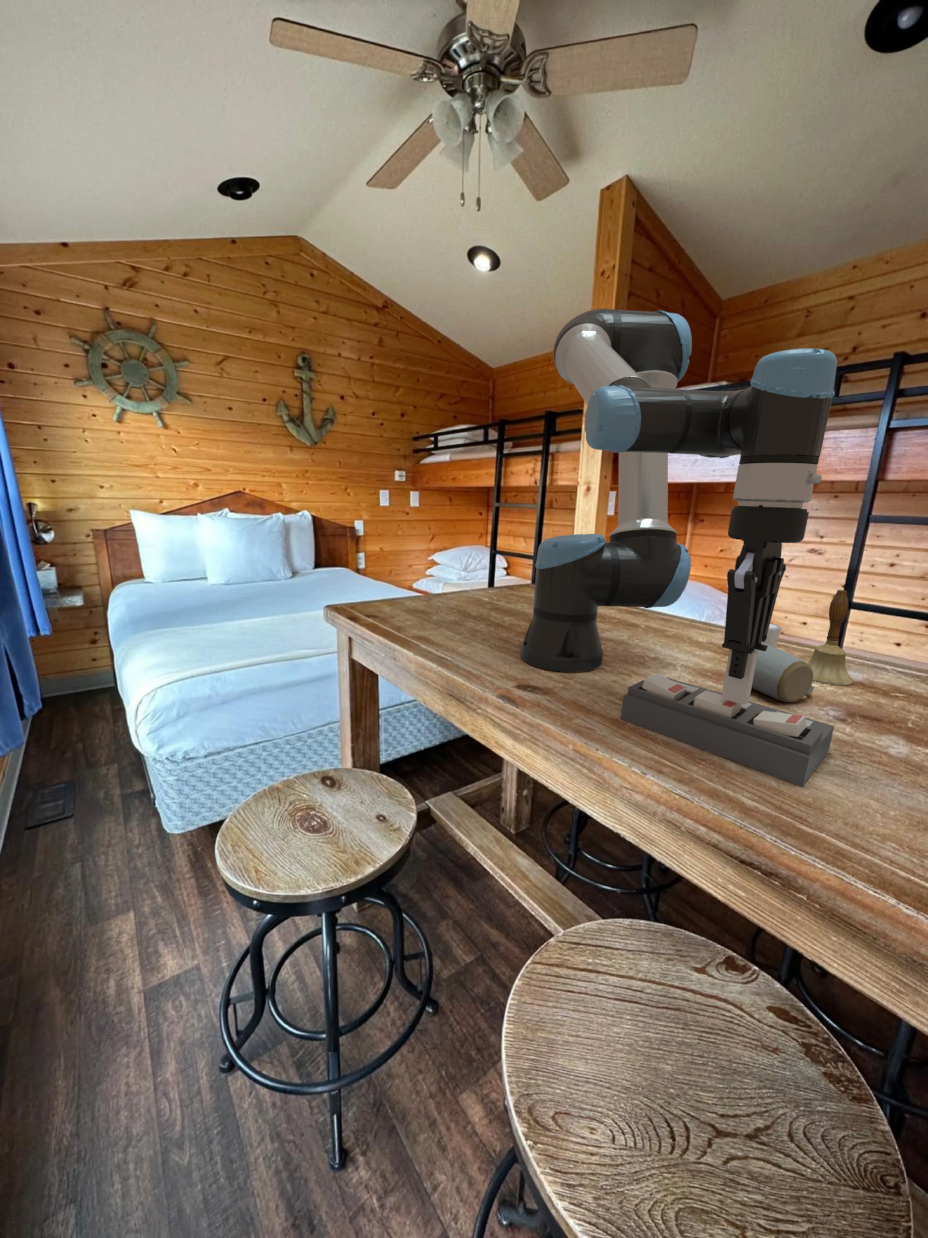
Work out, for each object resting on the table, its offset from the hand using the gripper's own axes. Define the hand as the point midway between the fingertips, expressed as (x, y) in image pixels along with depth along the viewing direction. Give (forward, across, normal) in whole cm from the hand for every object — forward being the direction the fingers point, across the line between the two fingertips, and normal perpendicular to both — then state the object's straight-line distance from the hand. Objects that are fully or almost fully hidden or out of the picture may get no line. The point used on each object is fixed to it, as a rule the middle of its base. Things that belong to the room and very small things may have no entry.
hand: (735, 699), depth 62 cm
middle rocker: (+1, 0, +2) cm, 2 cm away
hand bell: (+7, +41, -2) cm, 42 cm away
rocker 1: (+1, 0, +9) cm, 9 cm away
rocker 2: (+1, 0, -5) cm, 5 cm away
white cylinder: (+7, +43, +10) cm, 45 cm away
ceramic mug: (+7, +25, +1) cm, 26 cm away
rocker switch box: (+6, +2, +2) cm, 7 cm away
